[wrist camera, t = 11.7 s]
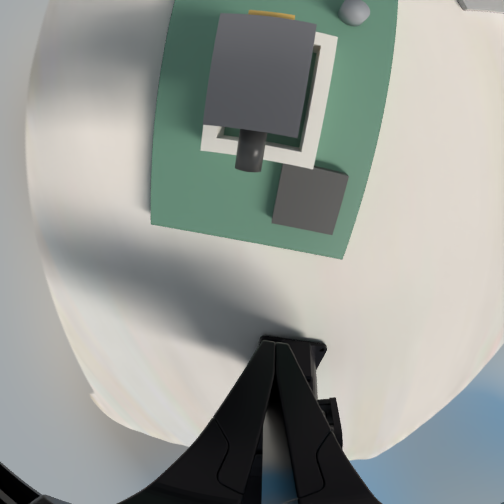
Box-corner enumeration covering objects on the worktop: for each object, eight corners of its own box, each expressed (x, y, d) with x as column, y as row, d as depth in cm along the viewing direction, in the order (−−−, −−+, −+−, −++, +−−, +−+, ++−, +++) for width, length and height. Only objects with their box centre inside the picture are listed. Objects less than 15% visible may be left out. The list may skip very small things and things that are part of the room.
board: (339, 251, 20) (347, 275, 17) (157, 218, 20) (138, 236, 17) (392, -1, 10) (409, -16, 7) (191, -31, 10) (176, -49, 7)
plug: (285, 152, 16) (288, 186, 9) (236, 144, 16) (198, 171, 9) (301, 56, 12) (319, 9, 5) (250, 49, 12) (223, -1, 6)
